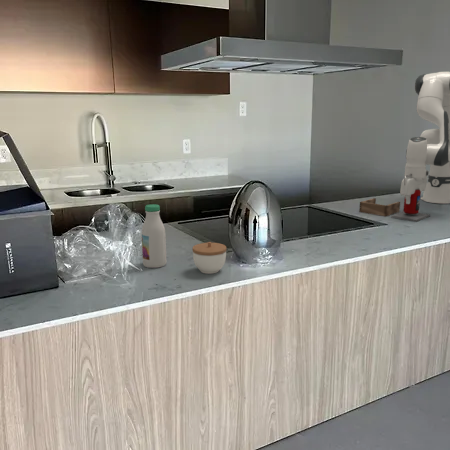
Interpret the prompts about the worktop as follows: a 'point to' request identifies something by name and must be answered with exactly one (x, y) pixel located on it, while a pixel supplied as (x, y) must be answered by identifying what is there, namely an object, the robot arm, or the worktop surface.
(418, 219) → the rubber mat
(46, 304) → the worktop surface
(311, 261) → the worktop surface
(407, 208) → the beverage can
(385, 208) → the wooden tray
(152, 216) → the milk bottle
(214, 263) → the lidded jar
